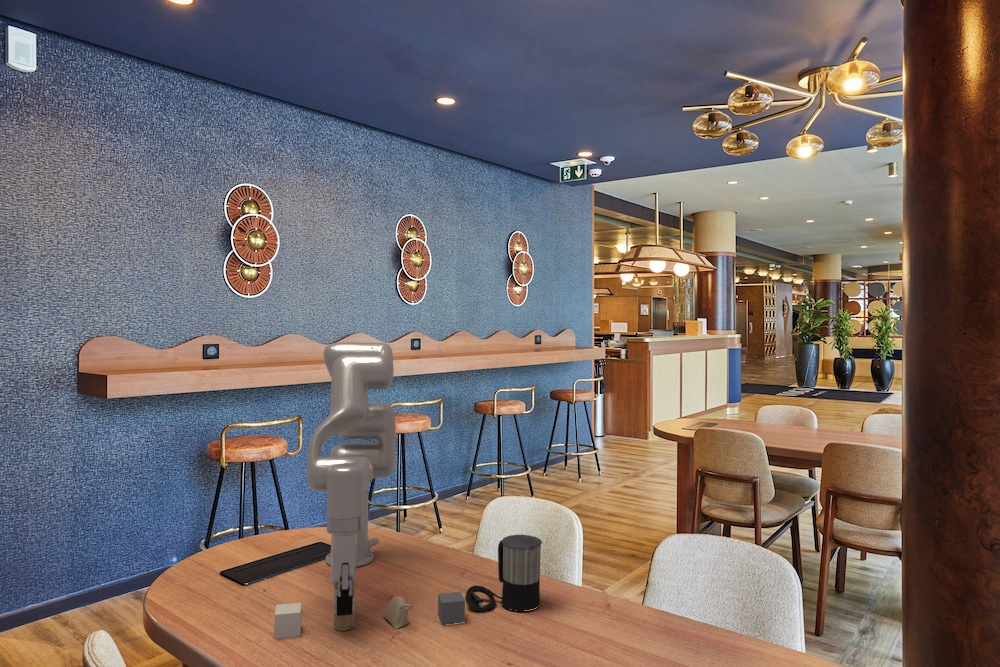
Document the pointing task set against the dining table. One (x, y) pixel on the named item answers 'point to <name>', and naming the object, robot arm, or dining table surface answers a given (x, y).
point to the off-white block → (287, 620)
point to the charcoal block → (451, 608)
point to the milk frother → (514, 575)
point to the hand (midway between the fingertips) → (344, 608)
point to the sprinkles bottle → (345, 620)
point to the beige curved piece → (398, 612)
